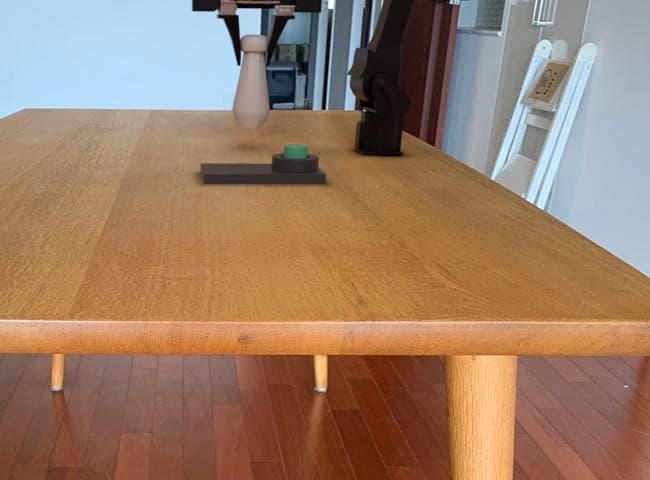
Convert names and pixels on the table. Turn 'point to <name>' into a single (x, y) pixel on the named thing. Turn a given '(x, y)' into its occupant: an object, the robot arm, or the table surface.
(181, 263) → the table surface
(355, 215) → the table surface
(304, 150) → the button
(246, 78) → the salt shaker
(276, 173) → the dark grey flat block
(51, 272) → the table surface
